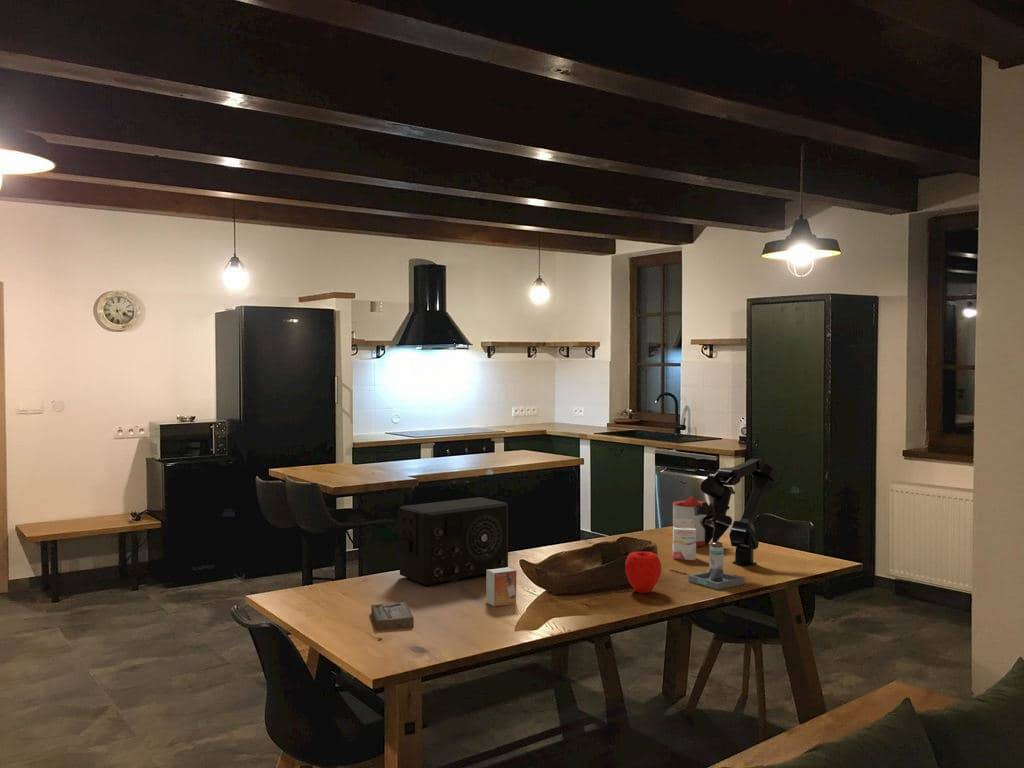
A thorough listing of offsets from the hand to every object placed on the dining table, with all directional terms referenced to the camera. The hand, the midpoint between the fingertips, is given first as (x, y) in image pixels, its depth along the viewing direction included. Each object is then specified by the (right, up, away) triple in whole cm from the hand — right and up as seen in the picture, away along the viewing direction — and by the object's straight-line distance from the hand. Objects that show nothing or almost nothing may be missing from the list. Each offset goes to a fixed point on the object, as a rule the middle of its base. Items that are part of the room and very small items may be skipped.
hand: (709, 543), depth 308 cm
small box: (-74, -12, -38) cm, 84 cm away
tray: (-1, -11, -13) cm, 17 cm away
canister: (-1, -10, -13) cm, 17 cm away
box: (-105, -12, -56) cm, 120 cm away
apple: (-27, -11, -24) cm, 38 cm away
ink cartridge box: (-4, -10, +23) cm, 26 cm away
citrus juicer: (+4, -9, +49) cm, 50 cm away
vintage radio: (-90, -11, -4) cm, 91 cm away
